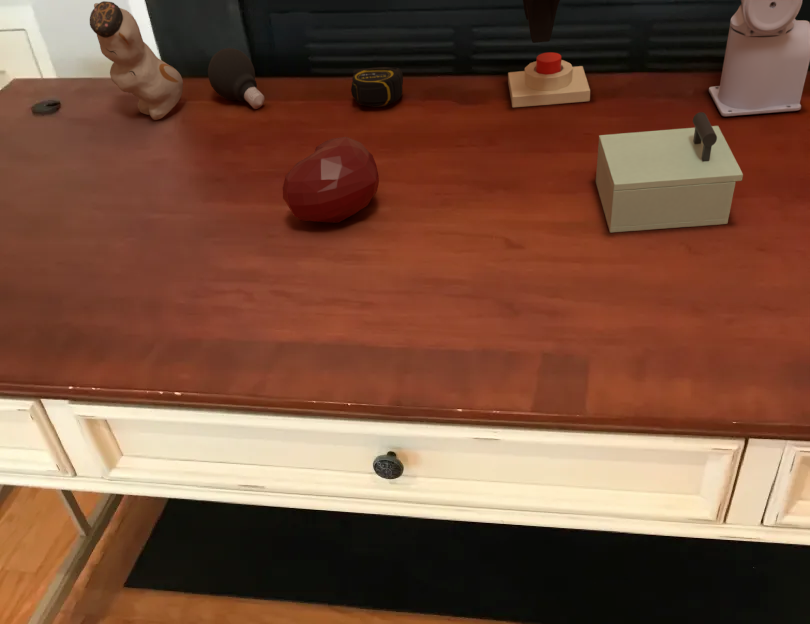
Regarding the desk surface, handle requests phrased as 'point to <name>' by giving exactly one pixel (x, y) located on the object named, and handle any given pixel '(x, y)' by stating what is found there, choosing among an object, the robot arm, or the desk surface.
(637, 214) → the box
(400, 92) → the tape measure
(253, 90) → the dark brown bulb-shaped piece
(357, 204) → the heart
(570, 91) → the control block
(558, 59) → the power button
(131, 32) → the figurine
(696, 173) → the freezer lid
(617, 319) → the desk surface
